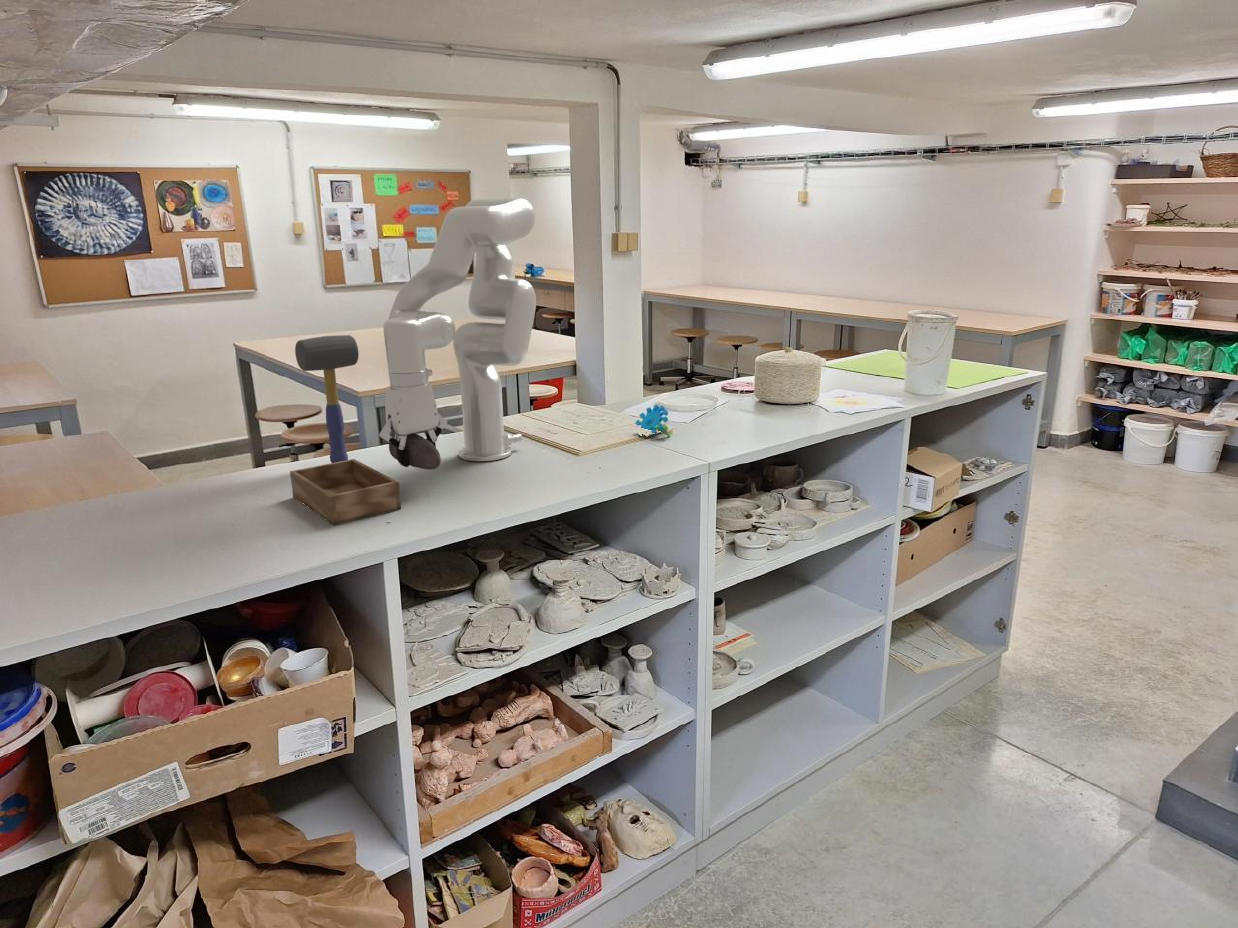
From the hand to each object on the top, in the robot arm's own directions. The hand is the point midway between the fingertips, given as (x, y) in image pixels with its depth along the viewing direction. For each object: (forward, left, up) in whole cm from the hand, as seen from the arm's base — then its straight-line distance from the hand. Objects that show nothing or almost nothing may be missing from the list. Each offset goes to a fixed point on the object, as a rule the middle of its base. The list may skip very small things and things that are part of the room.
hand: (417, 461), depth 177 cm
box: (+16, +1, -5) cm, 17 cm away
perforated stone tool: (0, 0, -1) cm, 1 cm away
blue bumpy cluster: (-65, +2, -6) cm, 66 cm away
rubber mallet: (+7, -26, -6) cm, 28 cm away
